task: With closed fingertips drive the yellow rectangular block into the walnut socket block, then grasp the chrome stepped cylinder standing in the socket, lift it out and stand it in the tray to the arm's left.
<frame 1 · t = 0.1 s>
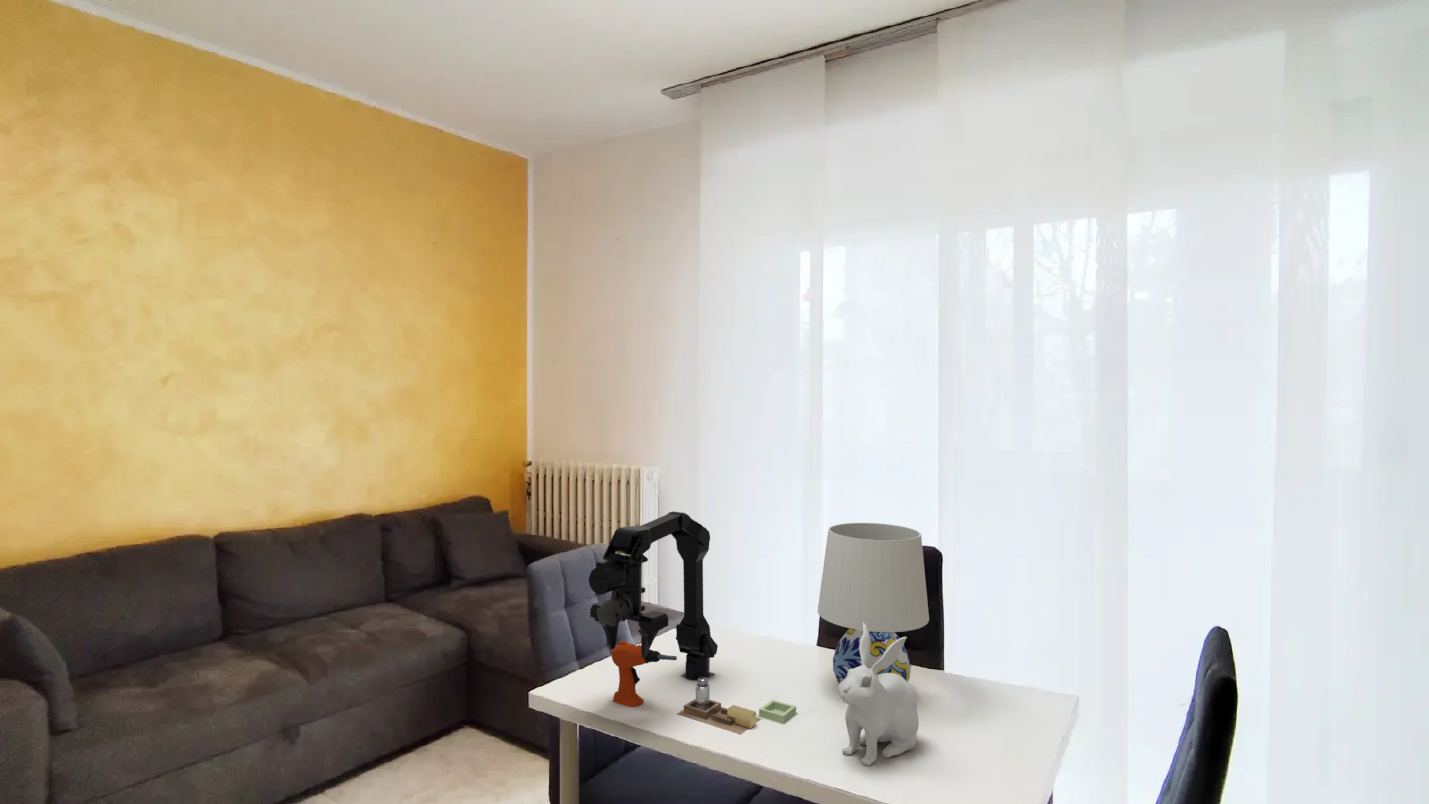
hand: (628, 653, 165), 15 cm above the table, fingers open, 9 cm apart
yellow rectangular block: (741, 716, 162), point 2 cm above the table, slide at 0.0 cm
rabbit: (875, 751, 152), on the table
chrome stepped cylinder: (702, 711, 168), point 1 cm above the table, touching socket block
table lamp: (870, 691, 182), on the table
toy drill: (643, 708, 170), on the table
socket block: (709, 716, 167), on the table
tray: (777, 717, 167), on the table
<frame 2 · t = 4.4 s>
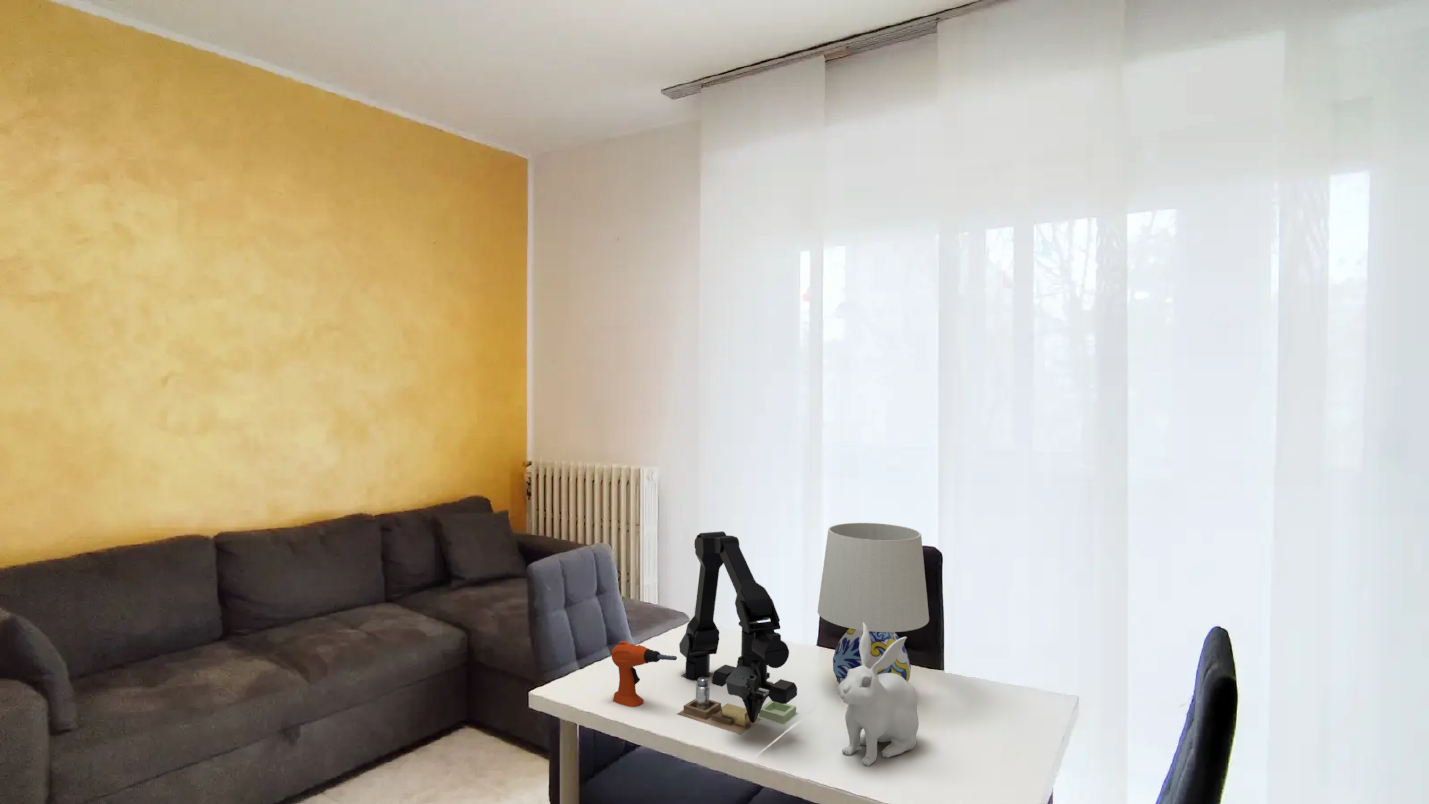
hand: (752, 722, 160), 2 cm above the table, fingers closed
yellow rectangular block: (736, 714, 163), point 2 cm above the table, slide at 1.5 cm, touching gripper
everything else where it was.
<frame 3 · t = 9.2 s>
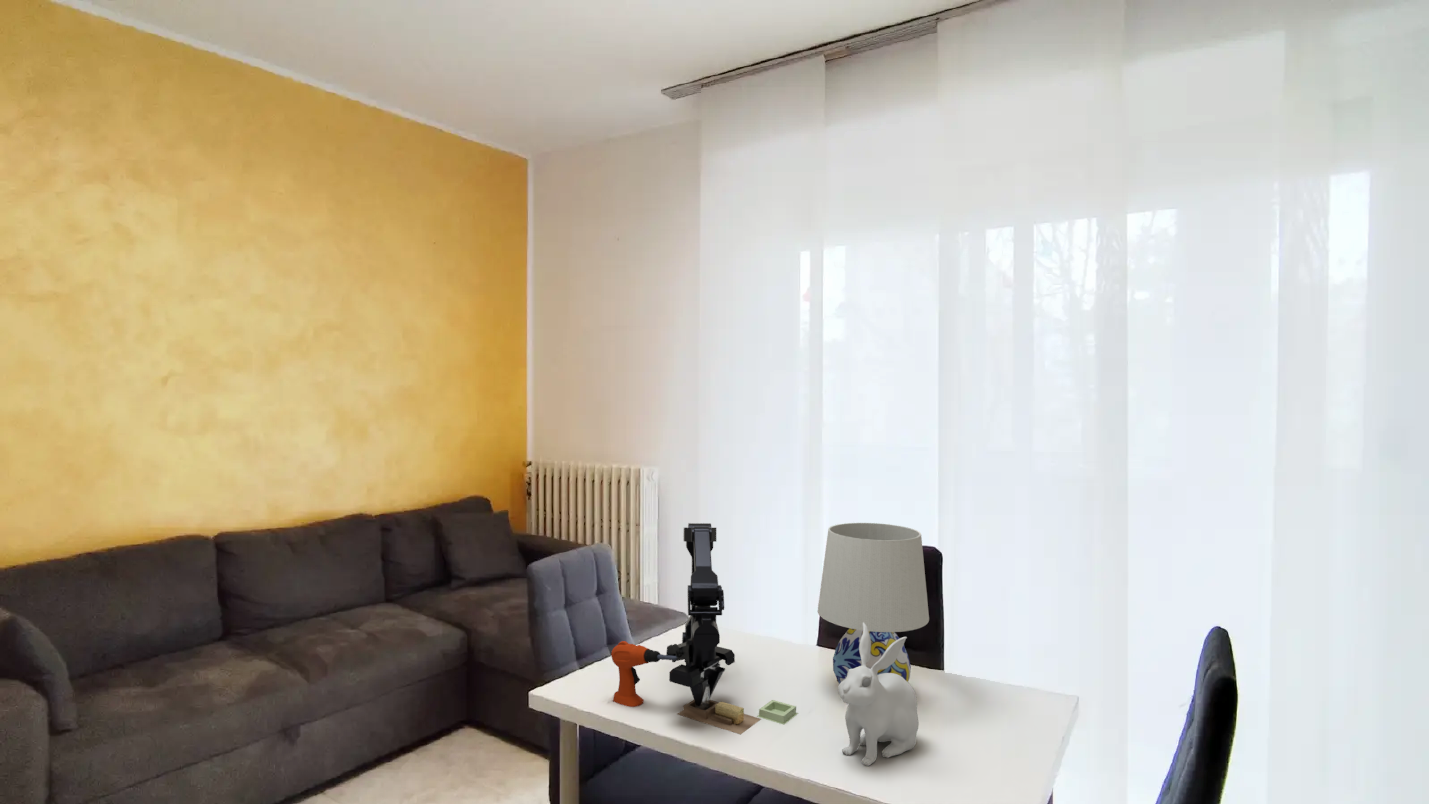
hand: (702, 702, 168), 3 cm above the table, fingers closed on chrome stepped cylinder, 3 cm apart
yellow rectangular block: (729, 712, 164), point 2 cm above the table, slide at 3.2 cm
chrome stepped cylinder: (702, 711, 168), point 1 cm above the table, touching gripper, socket block
everything else where it was.
when the fingers open (4 cm above the table, at t = 13.5 s): chrome stepped cylinder drops 1 cm, resting on tray.
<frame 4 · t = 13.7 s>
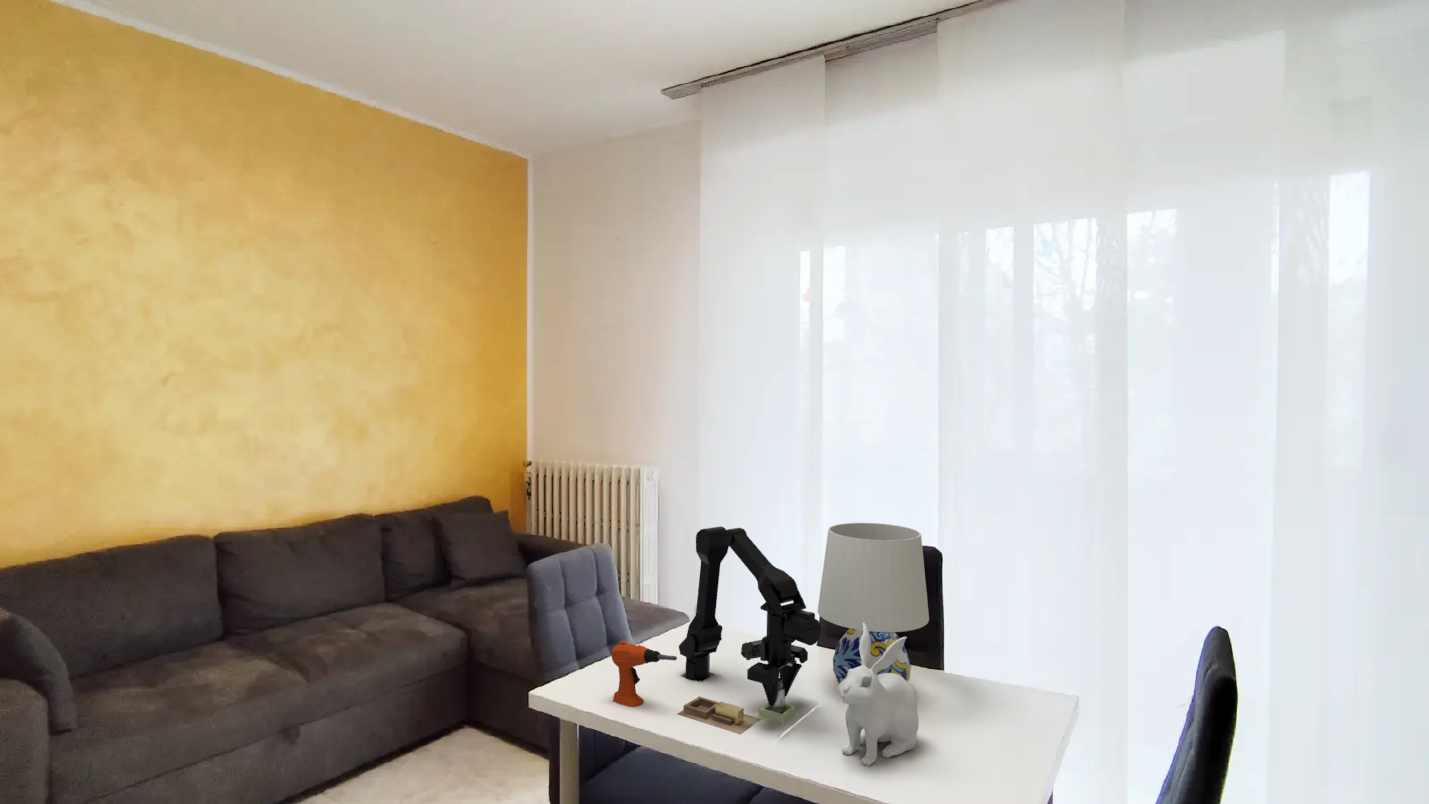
hand: (777, 700, 167), 4 cm above the table, fingers open, 6 cm apart
chrome stepped cylinder: (777, 714, 167), point 1 cm above the table, touching tray
everything else where it was.
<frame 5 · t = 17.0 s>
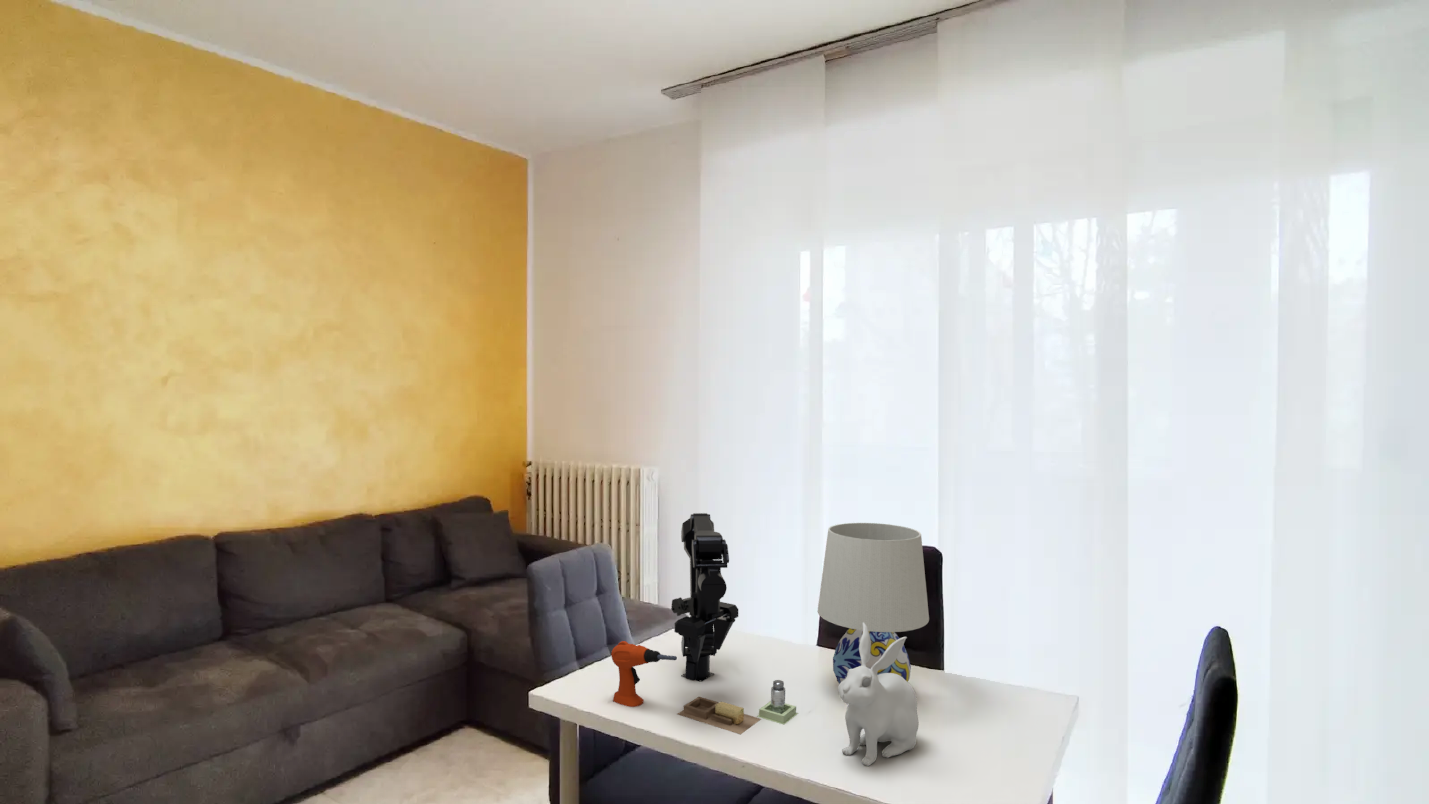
hand: (706, 655, 171), 13 cm above the table, fingers open, 9 cm apart
nothing on the table moved.
at the end: chrome stepped cylinder 0.0 cm off-centre on the tray, point 0.6 cm above the tray's base; chrome stepped cylinder tilted 1°; yellow rectangular block slide at 3.2 cm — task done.
